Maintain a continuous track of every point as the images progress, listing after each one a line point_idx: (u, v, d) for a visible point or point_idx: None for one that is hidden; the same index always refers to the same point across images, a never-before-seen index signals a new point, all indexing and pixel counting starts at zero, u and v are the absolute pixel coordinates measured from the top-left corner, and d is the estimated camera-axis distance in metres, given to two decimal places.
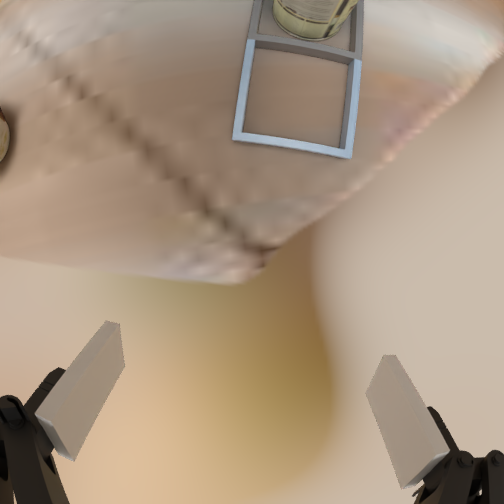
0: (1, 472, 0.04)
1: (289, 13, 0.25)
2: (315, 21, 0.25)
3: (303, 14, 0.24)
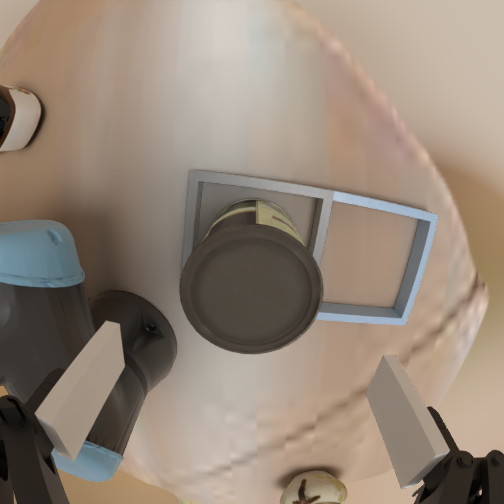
0: (1, 472, 0.04)
1: None
2: None
3: None
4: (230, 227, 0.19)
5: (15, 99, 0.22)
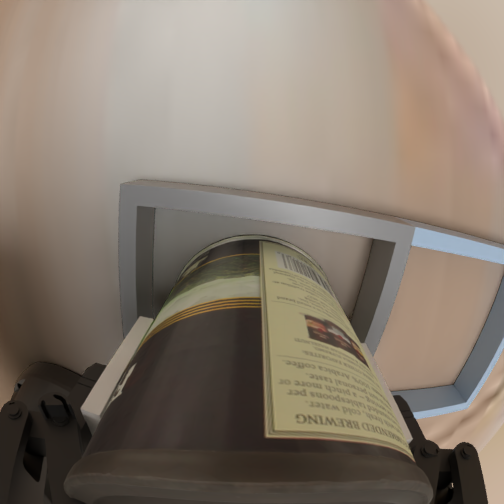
0: (33, 472, 0.05)
1: None
2: None
3: None
4: (156, 473, 0.03)
5: None
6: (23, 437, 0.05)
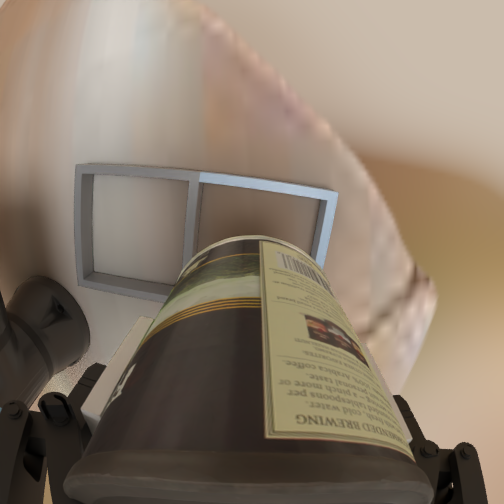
0: (33, 472, 0.05)
1: None
2: None
3: None
4: (155, 473, 0.03)
5: None
6: (23, 437, 0.05)
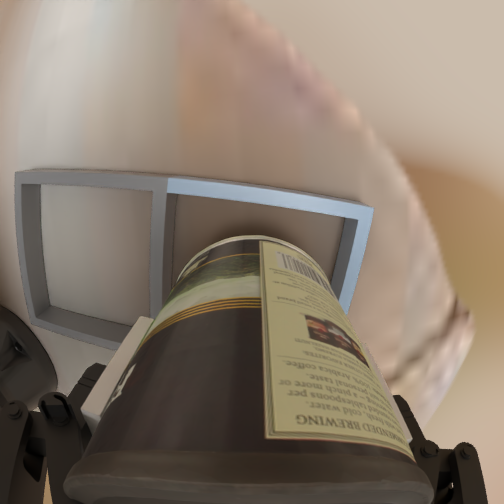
0: (33, 472, 0.05)
1: None
2: None
3: None
4: (155, 474, 0.03)
5: None
6: (23, 437, 0.05)
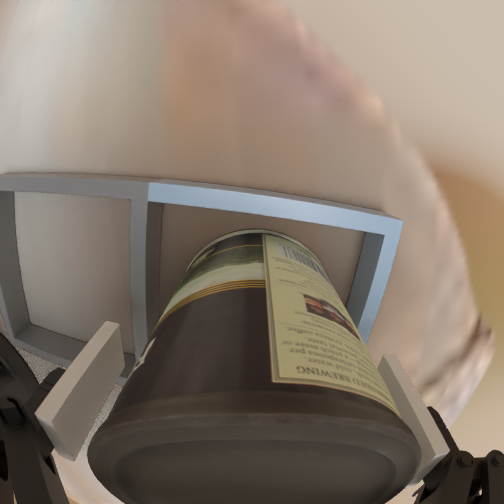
0: (1, 472, 0.04)
1: None
2: None
3: None
4: (183, 412, 0.05)
5: None
6: None
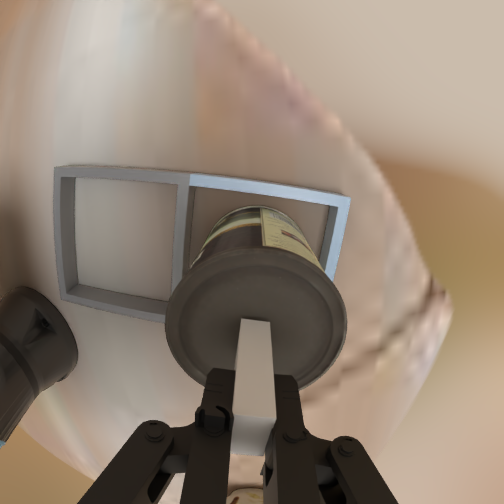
0: (150, 491, 0.07)
1: None
2: None
3: None
4: (228, 251, 0.14)
5: None
6: (159, 463, 0.06)
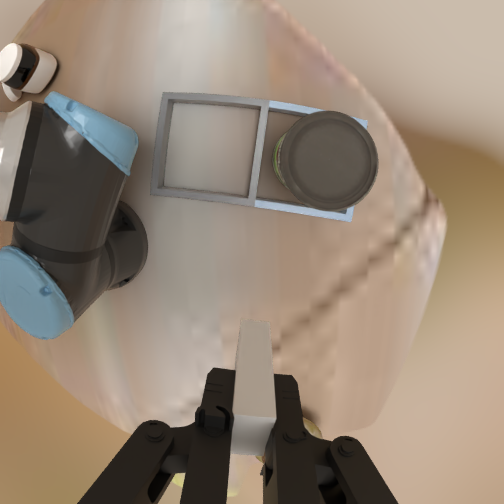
0: (150, 491, 0.07)
1: None
2: None
3: None
4: (318, 111, 0.25)
5: (39, 53, 0.28)
6: (159, 463, 0.06)
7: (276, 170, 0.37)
